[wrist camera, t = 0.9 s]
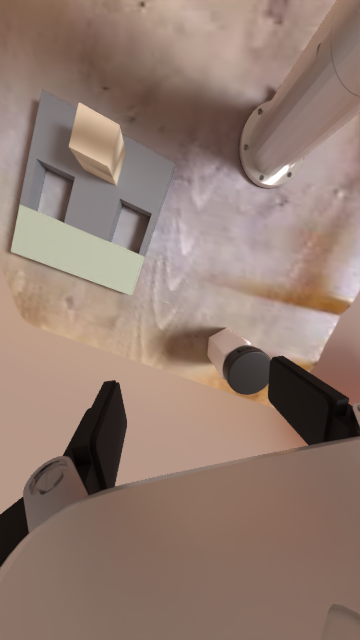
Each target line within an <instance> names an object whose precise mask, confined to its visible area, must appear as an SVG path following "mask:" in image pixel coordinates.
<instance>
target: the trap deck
mask: <svg viewBox="0 0 360 640" xmlns="http://www.w3.org/2000/svg"><path fill="white" fill-rule="evenodd" d="M76 112H77V108H75V107H74V106H72V105H70V104H68V103H66V102H65V101H63V100H61V99H59V98H57V97H56V96H54V95H52V94H50V93H48V92H47V91H45V90H43V89H42V91H41V96H40V101H39V106H38V111H37V117H36V122H35V127H34V132H33V137H32V142H31V147H30V152H29V157H28V163H27V168H26V173H25V178H24V183H23V188H22V193H21V198H20V203H19V204H20V206H19V211H18V216H17V221H16V227H15V232H14V237H13V242H12V247H11V252H13V253H16V254H18V255H21V256H24V257H26V258H29V259H32V260H35V261H37V262H40V263H43V264H46V265H48V266H51V267H54V268H57V269H59V270H62V271H65V272H68V273H70V274H73V275H76V276H79V277H81V278H84V279H87V280H90V281H92V282H95V283H98V284H100V285H103V286H106V287H109V288H111V289H114V290H117V291H120V292H122V293H125V294H128V295H132V294H133V291H134V288H135V286H136V283H137V280H138V277H139V274H140V271H141V268H142V265H143V262H144V259H145V256H146V253H147V250H148V247H149V244H150V241H151V238H152V235H153V232H154V229H155V226H156V223H157V220H158V217H159V214H160V211H161V208H162V205H163V203H164V200H165V197H166V194H167V191H168V188H169V185H170V182H171V179H172V176H173V173H174V168H175V163H174V162H172V161H171V160H169V159H167V158H165V157H163V156H162V155H160V154H158V153H156V152H154V151H153V150H151V149H149V148H147V147H145V146H144V145H142V144H140V143H138V142H136V141H135V140H133V139H131V138H129V137H127V136H126V135H124V134H122V137H123V141H124V146H125V150H126V154H125V158H124V161H123V165H122V168H121V172H120V175H119V179H118V182H117V186H116V185H114V184H112V183H110V182H108V181H106V180H104V179H102V178H100V177H98V176H96V175H93V174H91V173H89V172H87V171H85V170H84V169H83V167H82V166H81V164H80V163H79V161H78V160H77V158H76V157H75V155H74V154H73V152H72V151H71V150H70V148H69V143H70V138H71V134H72V130H73V125H74V121H75V117H76ZM46 169H48V170H50V171H53V172H55V173H57V174H59V175H61V176H63V177H65V178H67V179H70V180H72V181H74V183H73V187H72V192H71V196H70V200H69V204H68V208H67V212H66V216H65V220H64V223H63V222H61V221H59V220H56V219H54V218H52V217H49V216H47V215H44V214H42V213H40V212H37V211H38V206H39V202H40V197H41V192H42V188H43V183H44V178H45V174H46ZM122 205H125V206H127V207H129V208H131V209H133V210H135V211H137V212H140V213H142V214H144V215H146V216H148V217H150V221H149V224H148V227H147V230H146V233H145V236H144V239H143V242H142V245H141V248H140V251H139V254H137V253H135V252H133V251H130V250H128V249H125V248H123V247H121V246H118V245H116V244H114V243H111V242H112V239H113V235H114V232H115V228H116V225H117V222H118V218H119V215H120V212H121V208H122Z"/></svg>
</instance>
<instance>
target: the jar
mask: <svg viewBox="0 0 360 640" xmlns="http://www.w3.org/2000/svg"><path fill="white" fill-rule="evenodd" d="M207 356H208V358H209V359H210V361H211V362H212V364H213V365H214V367H215V368H216V370H217V371H218V373H219V374H220V376H221V378H223V379H225V380H226V381H227V382H228V384H229V385H230V387H231V388H232V389H233V390H234V391H236V392H237V393H240V394H245V395H249V394H254V393H257V392H259V391H261V390H262V389H263V388H265V387H266V386H267V384H268V383H269V367H270V360H271V359H270V357H269V356H268V355H267V354H265V353H264V352H263V351H262V350H260V349H258V348H256V347H255V346H254V345H252V344H251V343H250V342H249V341H247V340H246V339H244V338H243V337H241V336H239V335H237V334H236V333H234V332H233V331H231V330H229V329H228V328H225V329H223V330H221V331H220V332H218V333H216V334H214V335H212V336H210V337H209V341H208V353H207Z"/></svg>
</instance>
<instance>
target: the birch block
mask: <svg viewBox="0 0 360 640" xmlns="http://www.w3.org/2000/svg"><path fill="white" fill-rule="evenodd" d="M69 148H70V150H71V151H72V152H73V154H74V155H75V157H76V158H77V160H78V161H79V163H80V164H81V166H82V167H83V169H84V170H85V171H87V172H89V173H91V174H93V175H96V176H98V177H100V178H102V179H104V180H106V181H108V182H110V183H112V184H114V185H116V186H117V182H118V179H119V175H120V172H121V168H122V165H123V161H124V158H125V154H126V150H125V146H124V141H123V137H122V133H121V129H120V125H119V124H117V123H115V122H113V121H111V120H110V119H108V118H106V117H104V116H103V115H101V114H99V113H97V112H96V111H94V110H92V109H90V108H88V107H87V106H85V105H83V104H81V103H80V102H79V104H78V108H77V112H76V117H75V121H74V125H73V130H72V134H71V138H70V143H69Z"/></svg>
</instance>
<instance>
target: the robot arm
mask: <svg viewBox="0 0 360 640" xmlns="http://www.w3.org/2000/svg"><path fill="white" fill-rule="evenodd" d="M358 113H360V0H336V2H335V4H334V5H333V7H332V8H331V10H330V11H329V13H328V14H327V16H326V17H325V19H324V20H323V22H322V23H321V25H320V27H319V28H318V30H317V31H316V33H315V34H314V36H313V37H312V39H311V40H310V42H309V43H308V45H307V47H306V48H305V50H304V51H303V53H302V54H301V56H300V57H299V59H298V60H297V62H296V63H295V65H294V66H293V68H292V70H291V71H290V73H289V74H288V76H287V77H286V79H285V80H284V82H283V83H282V85H281V86H280V88H279V89H278V91H277V93H276V94H275V96H274V97H273V99H272V100H270V101H267V102H265V103H263V104H261V105H260V106H258V107H257V108H256V109H255V110H254V111H253V113H252V114H251V115H250V117H249V118H248V120H247V122H246V124H245V126H244V128H243V131H242V134H241V138H240V147H239V151H240V159H241V163H242V166H243V169H244V171H245V173H246V174H247V176H248V177H249V178H250V179H251V180H252V181H253V182H254V183H255V184H257V185H258V186H261V187H263V188H276V187H279V186H282V185H283V184H285V183H286V182H288V181H289V180H291V179H292V178H293V177H294V176H295V175H296V173H297V172H298V171H299V169H300V168H301V166H302V164H303V161H304V159H305V156H306V155H308V154H309V153H310V152H311V151H313V150H314V149H315V148H316V147H318V146H319V145H320V144H321V143H323V142H324V141H325V140H326V139H327V138H329V137H330V136H331V135H332V134H334V133H335V132H336V131H337V130H339V129H340V128H341V127H342V126H344V125H345V124H346V123H347V122H349V121H350V120H351V119H352V118H353V117H355V116H356V115H357V114H358ZM268 399H269V401H270V402H271V404H272V405H273V406H274V407H275V408H276V409H277V410H278V411H279V413H280V414H281V415H282V416H283V417H284V418H285V419H286V420H287V422H288V423H289V424H290V425H291V426H292V427H293V428H294V429H295V431H296V432H297V433H298V434H299V435H300V436H301V437H302V438H303V439H304V441H305V442H306V443H307V444H308V445H309V446H304V447H299V448H294V449H289V450H283V451H279V452H273V453H268V454H263V455H258V456H254V457H249V458H244V459H239V460H234V461H229V462H225V463H220V464H214V465H210V466H205V467H200V468H196V469H191V470H186V471H182V472H176V473H172V474H167V475H162V476H158V477H153V478H149V479H145V480H141V481H136V482H132V483H128V484H123V485H120V486H116V487H115V482H116V477H117V472H118V467H119V463H120V458H121V453H122V448H123V443H124V438H125V433H126V428H127V419H126V414H125V409H124V404H123V399H122V394H121V389H120V384H119V383H118V382H117V383H116V381H115V380H114V381H106V382H104V383H103V385H102V387H101V390H100V391H99V393H98V395H97V397H96V399H95V401H94V403H93V405H92V407H91V408H89V409H88V410H87V411H86V412H85V414H84V416H83V418H82V420H81V422H80V424H79V426H78V428H77V430H76V431H75V433H74V435H73V437H72V439H71V441H70V443H69V445H68V447H67V449H66V450H65V453H64V454H63V456H60V457H56V458H53V459H51V460H49V461H48V462H46V463H44V464H43V465H42V466H41V467H39V468H38V469H37V470H36V471H35V472H34V473H33V474H32V475H31V477H30V478H29V480H28V481H27V483H26V485H25V487H24V491H23V497H22V498H21V499H19V500H18V501H17V502H16V503H14V504H13V505H12V506H11V507H9V508H8V509H7V510H5V511H4V512H3V513H2V514H0V640H360V402H357V403H354V404H353V406H351V405H350V404H348V402H349V398H348V397H346V396H345V395H343V394H342V393H340V392H338V391H337V390H335V389H334V388H332V387H331V386H329V385H328V384H326V383H324V382H323V381H321V380H320V379H318V378H317V377H315V376H314V375H312V374H310V373H309V372H307V371H306V370H304V369H303V368H301V367H300V366H298V365H297V364H295V363H293V362H292V361H290V360H289V359H287V358H286V357H284V356H278V357H273V358H272V360H270V367H269V386H268Z"/></svg>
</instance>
